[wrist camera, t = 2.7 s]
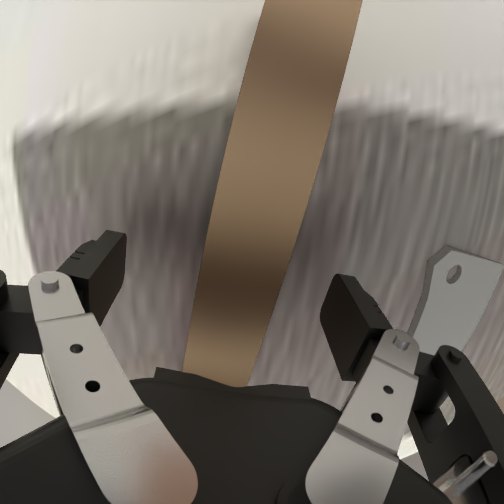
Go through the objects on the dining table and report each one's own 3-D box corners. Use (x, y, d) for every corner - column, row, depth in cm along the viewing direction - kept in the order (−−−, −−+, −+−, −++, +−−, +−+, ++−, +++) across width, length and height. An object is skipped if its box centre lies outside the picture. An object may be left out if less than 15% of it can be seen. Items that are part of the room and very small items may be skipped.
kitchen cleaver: (379, 460, 28) (298, 466, 26) (376, 453, 29) (296, 457, 27) (520, 270, 19) (447, 236, 17) (513, 264, 20) (438, 230, 18)
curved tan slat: (262, 17, 13) (274, -31, 7) (321, 33, 13) (363, -3, 8) (183, 368, 21) (172, 438, 16) (226, 376, 22) (224, 446, 16)
